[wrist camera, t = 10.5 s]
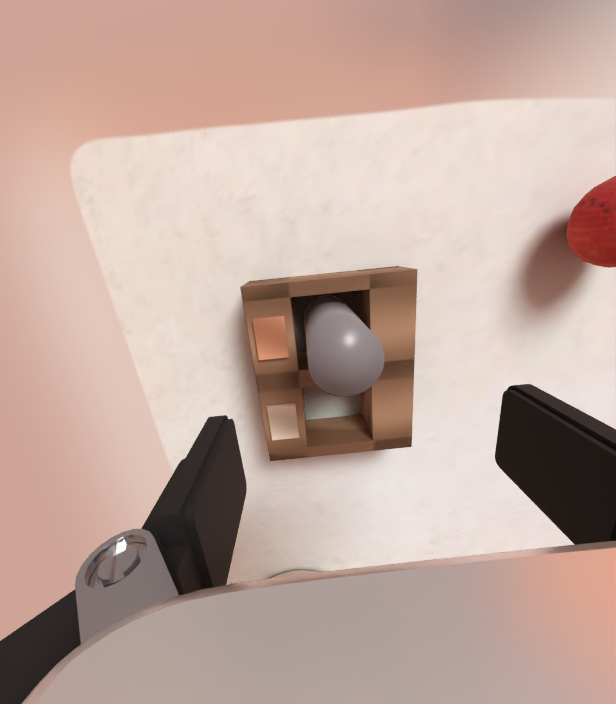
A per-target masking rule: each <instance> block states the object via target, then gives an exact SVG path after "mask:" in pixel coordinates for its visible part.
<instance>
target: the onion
mask: <svg viewBox="0 0 616 704" xmlns="http://www.w3.org/2000/svg"><path fill="white" fill-rule="evenodd" d="M567 240H568V244H569V248H570V249H571V250H572V251H573V252H574V253H575V254H576V255H577V256H578V257H579V258H580V259H581V260H583V261H584V262H588V263H591V264H594V265H597V266H603V267H616V176H615V177H612V178H611V179H609V180H607V181H605V182H603V183H601V184H600V185H598V186H596V187H594V188H593V189H592V190H591V191H589V192H588V193H587V194H586V195H585V196H584V197H583V198H582V199H581V201H580V202H579V203H578V204H577V205H576V206H575V208H574V209H573V212H572V214H571V217H570V219H569V221H568V226H567Z"/></svg>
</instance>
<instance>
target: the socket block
mask: <svg viewBox="0 0 616 704" xmlns="http://www.w3.org/2000/svg"><path fill="white" fill-rule="evenodd" d="M240 288H241V294H242V300H243V306H244V311H245V317H246V323H247V329H248V335H249V340H250V346H251V352H252V358H253V364H254V369H255V375H256V381H257V387H258V393H259V398H260V404H261V410H262V416H263V422H264V427H265V433H266V439H267V445H268V451H269V456H270V461H275V460H285V459H295V458H305V457H315V456H324V455H334V454H344V453H354V452H364V451H374V450H384V449H394V448H403V447H411V444H412V414H413V384H414V354H415V324H416V293H417V269H412V268H405V267H399V266H396V267H386V268H376V269H366V270H357V271H347V272H337V273H327V274H317V275H307V276H297V277H287V278H277V279H268V280H258V281H249V282H248V283H246V284H245V285H243V286H242V287H240ZM357 290H358V295H359V319H360V320H361V321H362V322H363V323H364V324H365V325H366V326H367V327H368V328H369V330H370V331H371V332H372V333H373V334H374V335H375V336H376V337H377V339H378V340H379V341H380V343H381V345H382V348H383V351H384V358H385V359H384V367H383V370H382V373H381V375H380V377H379V378H378V380H377V381H376V382H375V383H374V384H373V385H372V386H371V387H370V388H368V389H367V390H365V391H364V392H362V410H363V415H355V416H345V417H335V418H325V419H316V420H306V416H305V407H304V398H303V389H302V388H310V387H318V386H317V385H316V384H315V382H314V381H313V379H312V377H311V375H310V372H309V368H308V359H307V352H300V353H298V345H297V336H296V327H295V318H294V310H293V301H292V297H298V296H308V295H317V294H327V293H337V292H347V291H357Z"/></svg>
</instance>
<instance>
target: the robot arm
mask: <svg viewBox="0 0 616 704" xmlns="http://www.w3.org/2000/svg"><path fill="white" fill-rule="evenodd" d="M495 459H496V462H497V464H498V466H499V467H500V468H501V469H502V470H503V471H504V473H505V474H506V475H507V476H508V477H509V478H510V479H511V480H512V481H513V482H514V483H515V484H516V485H517V486H518V487H519V488H520V489H521V490H522V491H523V492H524V493H525V494H526V495H527V496H528V497H529V498H530V499H531V500H532V501H533V502H534V503H535V504H536V505H537V506H538V507H539V508H540V509H541V510H542V511H543V512H544V514H545V515H546V516H547V517H548V518H549V519H550V520H551V521H552V522H553V523H554V524H555V525H556V526H557V527H558V528H559V529H560V530H561V531H562V532H563V533H564V534H565V535H566V536H567V537H568V538H569V539H570V540H571V541H572V542H573V543H574V544H575V545H568V546H558V547H548V548H538V549H529V550H519V551H510V552H500V553H491V554H481V555H472V556H462V557H453V558H444V559H434V560H425V561H416V562H407V563H398V564H389V565H380V566H371V567H363V568H354V569H345V570H336V571H327V572H317V571H311V570H296V571H289V572H285V573H281V574H279V575H276V576H274V577H272V578H270V579H264V580H256V581H248V582H241V583H235V584H229V585H226V583H227V578H228V573H229V569H230V564H231V560H232V555H233V551H234V546H235V542H236V537H237V532H238V528H239V523H240V519H241V514H242V510H243V505H244V501H245V496H246V479H245V474H244V469H243V464H242V459H241V454H240V450H239V445H238V440H237V435H236V430H235V425H234V421H233V419H228V417H227V416H226V415H225V416H215V417H209V418H208V419H207V421H206V423H205V425H204V426H203V428H202V430H201V432H200V434H199V435H198V437H197V439H196V441H195V442H194V444H193V446H192V448H191V450H190V451H189V453H188V455H187V457H186V458H185V459H183V460H182V461H181V462H180V463H179V465H178V466H177V468H176V470H175V472H174V473H173V475H172V477H171V478H170V480H169V482H168V484H167V485H166V487H165V489H164V491H163V492H162V494H161V496H160V497H159V499H158V501H157V503H156V505H155V506H154V508H153V510H152V511H151V513H150V515H149V516H148V518H147V520H146V522H145V523H144V525H143V527H142V528H141V529H132V530H129V531H125V532H122V533H120V534H118V535H116V536H114V537H112V538H110V539H109V540H107V541H106V542H104V543H103V544H101V545H100V546H99V547H98V548H97V549H96V550H95V551H94V552H92V553H91V554H90V555H89V557H88V558H87V559H86V560H85V562H84V563H83V565H82V566H81V568H80V570H79V572H78V574H77V576H76V583H75V590H74V591H72V592H71V593H69V594H68V595H67V596H65V597H63V598H62V599H60V600H59V601H58V602H56V603H55V604H53V605H52V606H50V607H49V608H48V609H46V610H45V611H43V612H42V613H40V614H39V615H37V616H36V617H35V618H33V619H32V620H30V621H29V622H27V623H26V624H24V625H23V626H22V627H20V628H19V629H17V630H16V631H14V632H13V633H11V634H10V635H8V636H7V637H6V638H4V639H3V640H1V641H0V704H616V429H614V428H612V427H610V426H608V425H606V424H604V423H603V422H601V421H599V420H597V419H595V418H593V417H591V416H589V415H588V414H586V413H584V412H582V411H580V410H578V409H576V408H574V407H572V406H571V405H569V404H567V403H565V402H563V401H561V400H559V399H557V398H556V397H554V396H552V395H550V394H548V393H546V392H544V391H542V390H540V389H539V388H537V387H535V386H533V385H530V384H524V385H514V386H510V387H509V388H508V389H507V391H505V392H504V393H503V398H502V406H501V414H500V421H499V429H498V437H497V445H496V452H495Z"/></svg>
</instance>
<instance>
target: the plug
mask: <svg viewBox="0 0 616 704" xmlns="http://www.w3.org/2000/svg"><path fill="white" fill-rule="evenodd" d="M304 326H305V337H306V348H307V359H308V368H309V372H310V375H311V377H312V379H313V381H314V382H315V384H316V385H317V386H318V387H319V388H321V389H322V390H323V391H325V392H327V393H329V394H332V395H335V396H353V395H357V394H359V393H362V392H364V391H365V390H367V389H368V388H370V387H371V386H372V385H373V384H374V383H375V382H376V381H377V380H378V378H379V377H380V375H381V373H382V370H383V367H384V359H385V358H384V351H383V348H382V345H381V343H380V341H379V340H378V339H377V337H376V336H375V335H374V334H373V333H372V332H371V331H370V330H369V328H368V327H367V326H366V325H365V324H364V323H363V322H362V321H361V320H360V319H359V318H358V316H357V315H356V314H355V313H354V312H353V311H352V310H351V309H350V308H349V307H348V305H347V304H346V303H345V302H344V301H343V300H341V299H340V298H338V297H335V296H330V295H327V296H321V297H318V298H316V299H315V300H313V301H312V302H311V303H310V304H309V305H308V307H307V309H306V311H305V314H304Z"/></svg>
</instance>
